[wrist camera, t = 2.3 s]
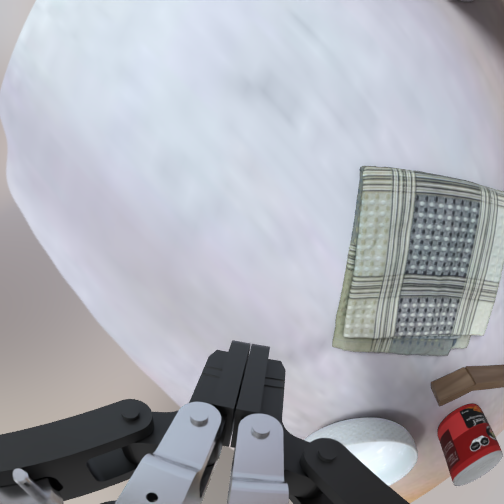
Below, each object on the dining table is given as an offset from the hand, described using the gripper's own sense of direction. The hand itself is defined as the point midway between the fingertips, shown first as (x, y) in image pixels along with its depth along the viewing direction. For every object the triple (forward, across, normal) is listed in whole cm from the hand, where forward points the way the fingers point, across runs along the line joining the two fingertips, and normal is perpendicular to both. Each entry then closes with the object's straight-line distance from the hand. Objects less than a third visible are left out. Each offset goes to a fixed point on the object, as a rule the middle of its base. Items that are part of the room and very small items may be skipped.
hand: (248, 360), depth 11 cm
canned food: (+16, -33, +22) cm, 43 cm away
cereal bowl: (+16, -15, +25) cm, 33 cm away
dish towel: (+16, -16, 0) cm, 22 cm away
